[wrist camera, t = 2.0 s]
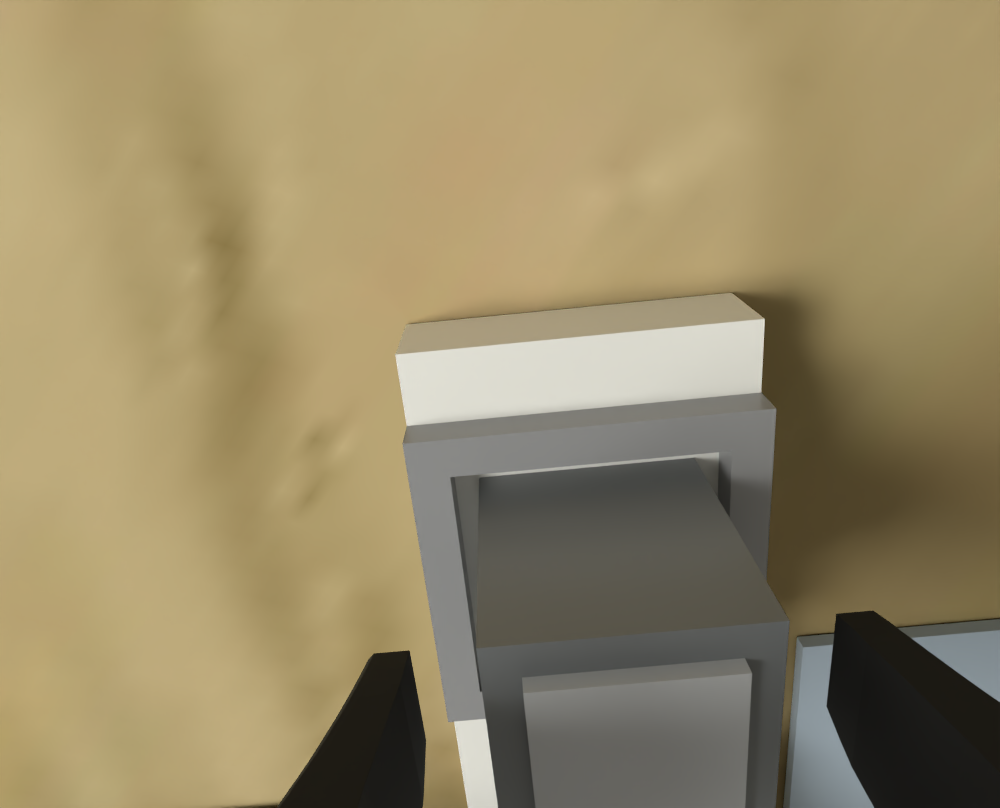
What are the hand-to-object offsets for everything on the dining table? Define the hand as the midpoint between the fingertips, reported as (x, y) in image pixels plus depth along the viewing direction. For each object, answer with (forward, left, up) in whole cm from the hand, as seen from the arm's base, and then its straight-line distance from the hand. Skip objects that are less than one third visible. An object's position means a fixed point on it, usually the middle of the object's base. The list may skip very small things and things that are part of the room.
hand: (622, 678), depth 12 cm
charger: (0, 0, -4) cm, 4 cm away
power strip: (0, -9, -6) cm, 11 cm away
